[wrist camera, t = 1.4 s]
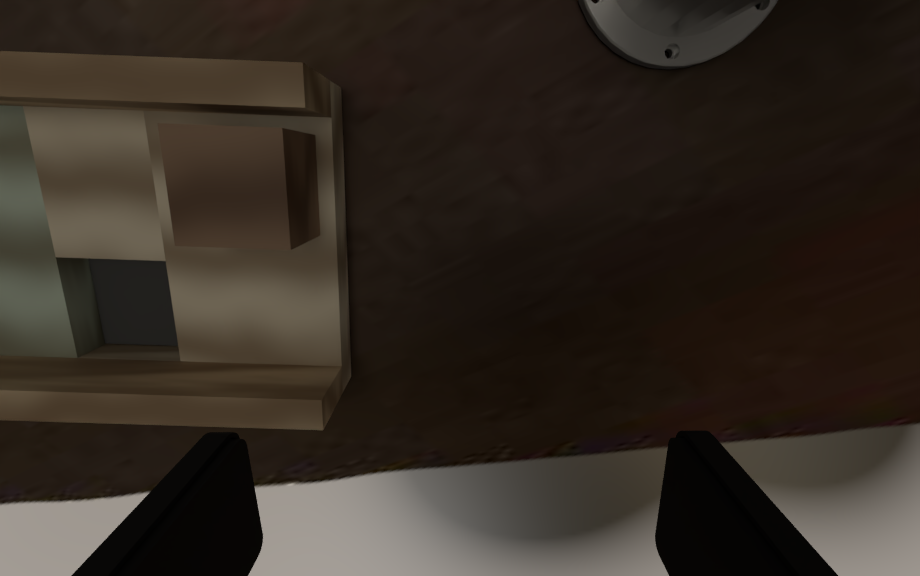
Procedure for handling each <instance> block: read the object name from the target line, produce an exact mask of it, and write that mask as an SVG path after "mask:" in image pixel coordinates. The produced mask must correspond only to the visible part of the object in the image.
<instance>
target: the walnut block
mask: <svg viewBox="0 0 920 576" xmlns="http://www.w3.org/2000/svg"><path fill="white" fill-rule="evenodd" d="M157 124H158V131H159V138H160V145H161V152H162V159H163V166H164V173H165V180H166V187H167V194H168V201H169V208H170V215H171V222H172V229H173V236H174V243H175V246H187V247H216V248H245V249H274V250H292V249H294V248H296V247H298V246H300V245H302V244H304V243H306V242H308V241H310V240H312V239H314V238H316V237H318V236H320V217H319V198H318V178H317V159H316V139H315V135H313V134H309V133H304V132H299V131H295V130H290V129H286V128H275V127H248V126H221V125H194V124H167V123H157Z"/></svg>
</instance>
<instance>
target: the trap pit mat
mask: <svg viewBox="0 0 920 576" xmlns="http://www.w3.org/2000/svg"><path fill="white" fill-rule="evenodd" d="M88 259H89V264H90V269H91V274H92V279H93V284H94V289H95V294H96V299H97V304H98V309H99V315H100V320H101V325H102V330H103V335H104V340H105V343H107V344H137V345H168V346H178V340H177V334H176V327H175V320H174V313H173V307H172V300H171V293H170V287H169V280H168V273H167V266H166V261H150V260H120V259H91V258H88Z"/></svg>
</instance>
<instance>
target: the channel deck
mask: <svg viewBox="0 0 920 576" xmlns="http://www.w3.org/2000/svg"><path fill="white" fill-rule="evenodd" d="M157 123H167V124H194V125H221V126H248V127H275V128H286V129H290V130H295V131H299V132H304V133H309V134H313V135H315V139H316V159H317V178H318V198H319V217H320V236H318V237H316V238H314V239H312V240H310V241H308V242H306V243H304V244H302V245H300V246H298V247H296V248H294V249H292V250H274V249H245V248H216V247H187V246H175V243H174V236H173V229H172V222H171V215H170V208H169V201H168V194H167V187H166V180H165V173H164V166H163V159H162V152H161V145H160V138H159V131H158V124H157ZM88 258H91V259H120V260H150V261H166V266H167V273H168V280H169V287H170V293H171V300H172V307H173V313H174V320H175V327H176V334H177V340H178V346H164V345H134V344H106V343H105V340H104V335H103V330H102V325H101V320H100V315H99V309H98V304H97V299H96V294H95V289H94V284H93V279H92V274H91V269H90V264H89V259H88ZM350 378H351V351H350V322H349V294H348V265H347V237H346V208H345V180H344V151H343V123H342V94H341V87H339V86H337V85H336V84H334V83H333V82H331V81H330V80H328V79H327V78H325V77H324V76H322V75H321V74H319V73H318V72H316V71H315V70H313V69H312V68H310V67H309V66H307V65H306V64H304V63H300V62H274V61H248V60H221V59H195V58H169V57H143V56H117V55H91V54H64V53H38V52H12V51H0V420H13V421H45V422H78V423H110V424H142V425H174V426H207V427H239V428H271V429H304V430H324V428H325V426H326V424H327V422H328V420H329V418H330V416H331V414H332V412H333V410H334V409H335V407H336V405H337V403H338V401H339V399H340V397H341V395H342V393H343V391H344V389H345V387H346V385H347V384H348V382H349V380H350Z"/></svg>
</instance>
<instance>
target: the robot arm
mask: <svg viewBox="0 0 920 576" xmlns="http://www.w3.org/2000/svg"><path fill="white" fill-rule="evenodd" d="M777 1H778V0H597V4H595V3H593V2H592V1H591V0H578V2H579V4H580V7H581V9H582V11H583V13H584V15H585V18H586V20H587V22H588V24H589V25H590V26H591V28H592V29H593V30H594V32H595V33H596V35H597V36H598V37H599V39H600V40H601V41H602V42H603V43H604V44H606V45H607V46H608V47H609V48H610V49H611V50H612V51H613V52H614V53H616V54H618V55H620V56H621V57H623V58H625V59H626V60H628V61H630V62H632V63H635V64H639V65H642V66H645V67H648V68H656V69H667V70H669V69H677V68H686V67H690V66H693V65H696V64H699V63H702V62H706V61H708V60H710V59H712V58H715V57H717V56H719V55H721V54H723V53H725V52H727V51H728V50H730V49H731V48H733V47H734V46H736V45H737V44H739V43H740V42H742V41H743V40H744V39H745V38H746V37H747V36H749V35H750V34H751V33H752V32H753V31H754V30H755V29H756V28H757V27H758V26H759V25H760V24H761V23H762V22H763V21H764V19H765V18H766V17H767V16H768V14H769V13H770V12H771V11H772V9H773V8H774V6H775V5H776V3H777ZM755 5H756V7H755ZM665 51H668V53H669V57H668V59H667V57H666V56H665ZM655 541H656V547H657V550H658V553H659V556H660V558H661V560H662V562H663V564H664V565H665V568H666V570H667V572H668V574H669V576H838V575H837V574H836V573H835V572H834V570H833V569H832V568H831V567H830V566H829V565H828V564H827V563H826V562H825V560H824V559H823V558H822V557H821V556H820V555H819V554H818V553H817V551H816V550H815V549H814V548H813V547H812V546H811V545H810V544H809V542H808V541H807V540H806V539H805V538H804V537H803V536H802V535H801V533H800V532H799V531H798V530H797V529H796V528H795V527H794V526H793V524H792V523H791V522H790V521H789V520H788V519H787V518H786V517H785V515H784V514H783V513H782V512H781V511H780V510H779V509H778V508H777V507H776V505H775V504H774V503H773V502H772V501H771V500H770V499H769V498H768V496H766V494H765V493H764V492H763V491H762V490H761V489H760V487H759V486H758V485H757V484H756V483H755V482H754V481H753V480H752V479H751V478H750V476H749V475H748V474H747V473H746V472H745V471H744V469H743V468H742V467H741V466H740V465H739V464H738V463H737V462H736V461H735V459H734V458H733V457H732V456H731V455H730V454H729V453H728V452H727V450H726V449H725V448H724V447H723V446H722V445H721V444H720V443H719V441H718V440H717V439H716V438H715V437H714V436H713V435H712V434H711V433H710V432H708V431H680V432H678V433H677V435H676V438H671V439H670V440H669V444H668V451H667V457H666V464H665V471H664V478H663V485H662V492H661V499H660V506H659V513H658V520H657V526H656V533H655ZM262 542H263V533H262V528H261V522H260V516H259V511H258V505H257V499H256V494H255V488H254V482H253V477H252V471H251V466H250V460H249V454H248V449H247V444H246V442H245V440H243V439H240V438H239V436H238V434H237V433H234V432H210V433H207V434H205V435H204V436H203V437H202V438H201V439H200V440H199V441H198V442H197V443H196V444H195V445H194V446H193V448H192V449H191V450H190V451H189V452H188V453H187V454H186V455H185V456H184V457H183V458H182V459H181V460H180V461H179V462H178V463H177V464H176V466H175V467H174V468H173V469H172V470H171V471H170V472H169V473H168V474H167V475H166V476H165V477H164V478H163V479H162V480H161V481H160V482H159V484H158V485H157V486H156V487H155V488H154V489H153V490H152V491H151V492H150V493H149V494H148V495H147V496H146V497H145V498H144V500H142V502H141V503H140V504H139V505H138V506H137V507H136V508H135V509H134V510H133V511H132V512H131V513H130V514H129V515H128V516H127V517H126V518H125V520H124V521H123V522H122V523H121V524H120V525H119V526H118V527H117V528H116V529H115V530H114V531H113V532H112V533H111V534H110V535H109V536H108V538H107V539H106V540H105V541H104V542H103V543H102V544H101V545H100V546H99V547H98V548H97V549H96V550H95V551H94V552H93V553H92V554H91V556H90V557H89V558H88V559H87V560H86V561H85V562H84V563H83V564H82V565H81V566H80V567H79V568H78V570H76V571H75V573H74V574H73V575H72V576H248V574H249V573H250V571H251V569H252V567H253V565H254V563H255V561H256V559H257V557H258V555H259V553H260V551H261V547H262Z"/></svg>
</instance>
